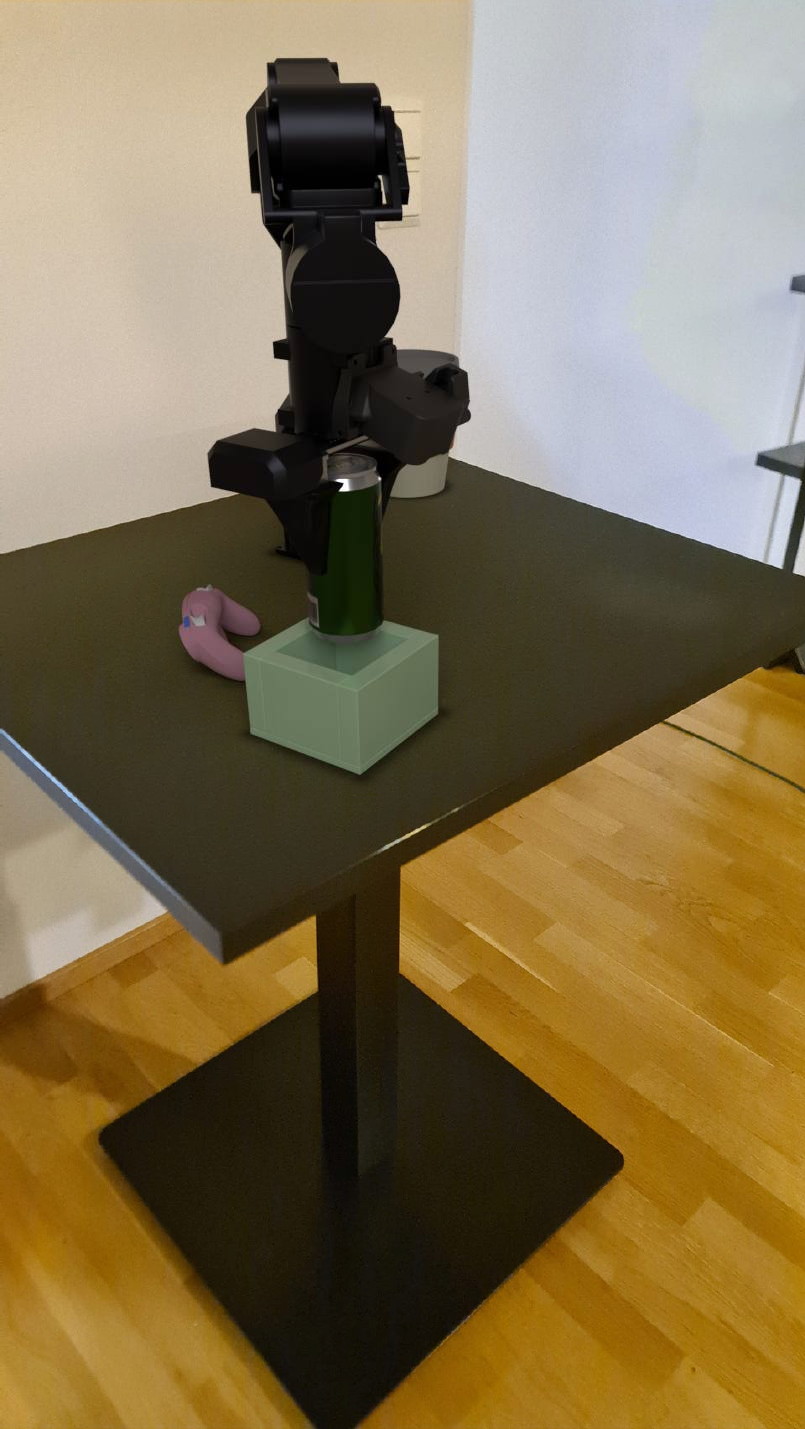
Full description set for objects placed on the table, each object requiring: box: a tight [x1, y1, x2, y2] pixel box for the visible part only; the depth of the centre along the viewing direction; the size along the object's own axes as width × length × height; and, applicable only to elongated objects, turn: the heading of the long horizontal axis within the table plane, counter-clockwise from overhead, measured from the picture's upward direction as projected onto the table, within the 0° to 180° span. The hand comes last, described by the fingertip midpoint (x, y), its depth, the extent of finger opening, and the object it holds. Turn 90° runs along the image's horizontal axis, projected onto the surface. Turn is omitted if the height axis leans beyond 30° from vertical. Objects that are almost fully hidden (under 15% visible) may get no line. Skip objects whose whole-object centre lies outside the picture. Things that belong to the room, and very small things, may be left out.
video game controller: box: [178, 583, 261, 682], centre depth 84 cm, size 10×5×7 cm, turn 5°
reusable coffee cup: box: [390, 348, 460, 499], centre depth 122 cm, size 12×13×15 cm
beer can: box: [305, 453, 385, 644], centre depth 70 cm, size 5×5×12 cm
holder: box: [243, 616, 440, 776], centre depth 74 cm, size 10×10×7 cm
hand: (342, 561), depth 71 cm, fingers closed on beer can, 5 cm apart
